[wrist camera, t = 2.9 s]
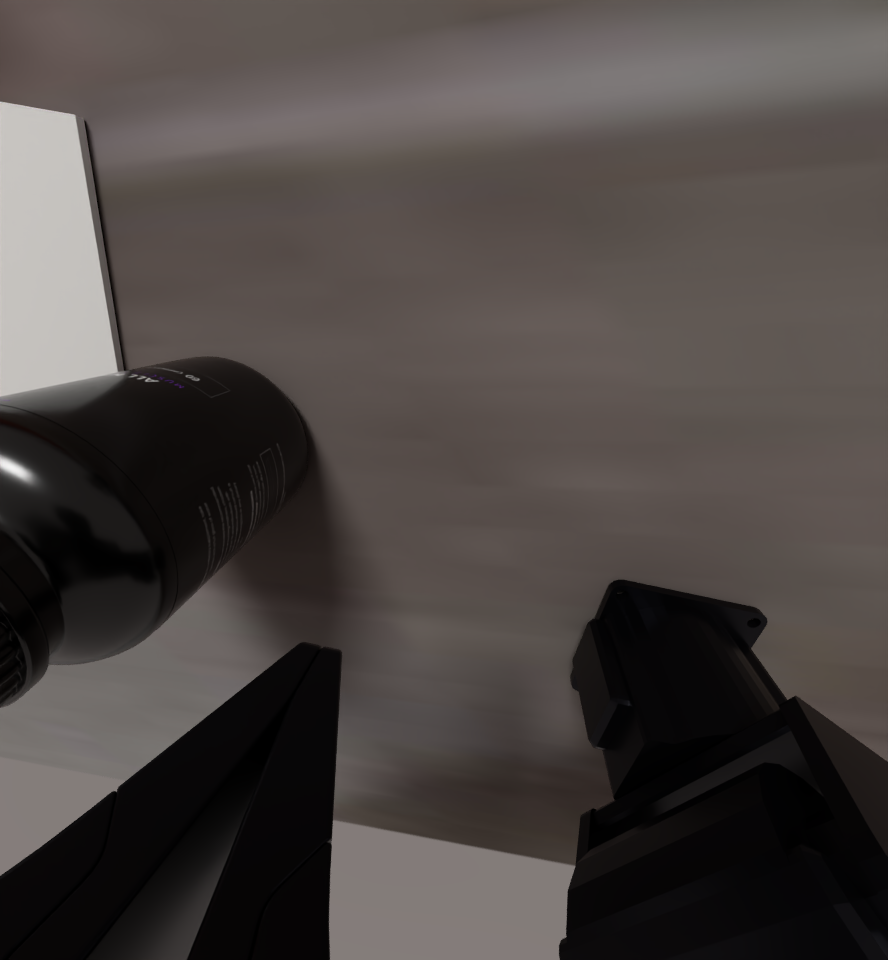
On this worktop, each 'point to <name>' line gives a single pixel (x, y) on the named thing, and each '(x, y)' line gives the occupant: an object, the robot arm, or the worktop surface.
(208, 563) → the supplement bottle
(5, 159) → the mat
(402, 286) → the worktop surface
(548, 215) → the worktop surface
